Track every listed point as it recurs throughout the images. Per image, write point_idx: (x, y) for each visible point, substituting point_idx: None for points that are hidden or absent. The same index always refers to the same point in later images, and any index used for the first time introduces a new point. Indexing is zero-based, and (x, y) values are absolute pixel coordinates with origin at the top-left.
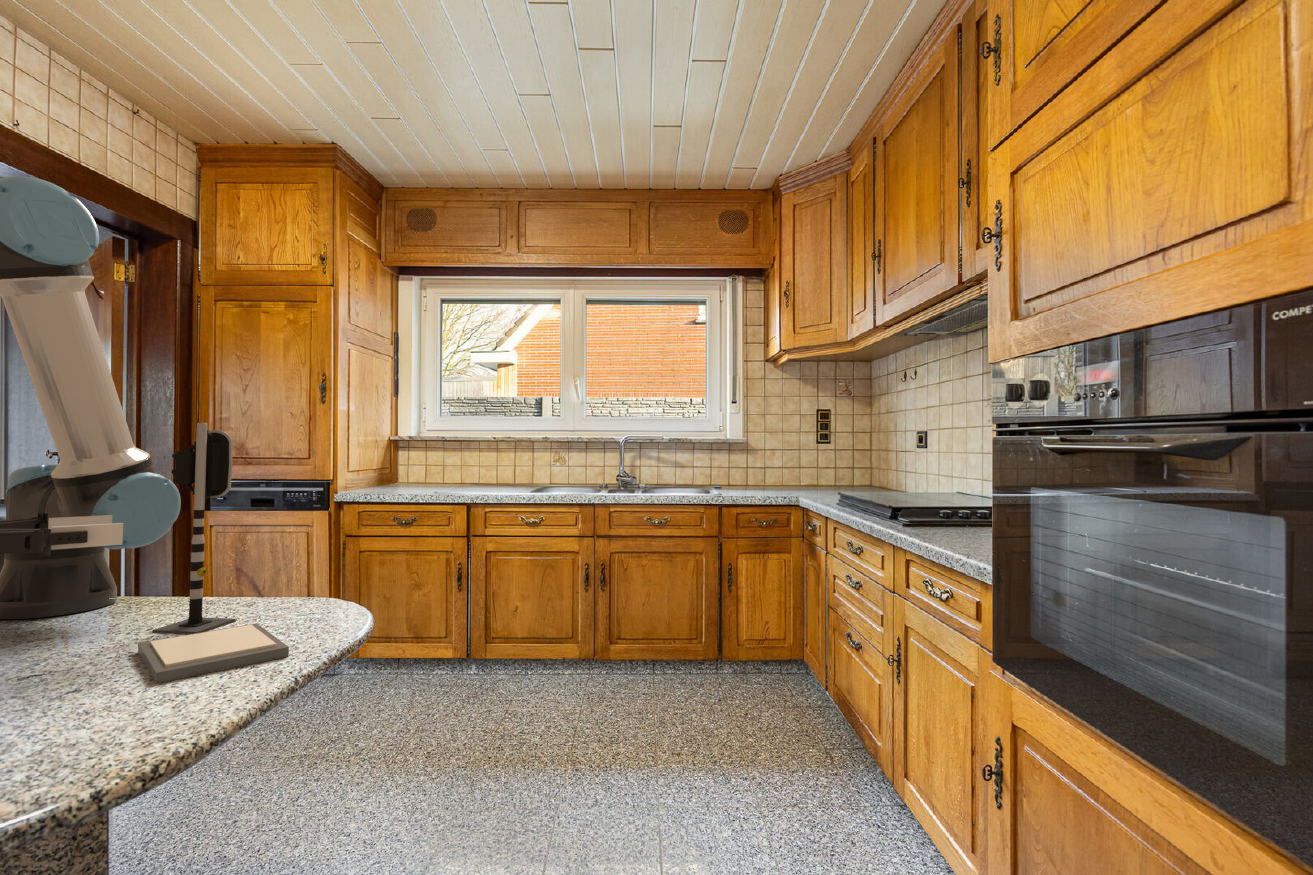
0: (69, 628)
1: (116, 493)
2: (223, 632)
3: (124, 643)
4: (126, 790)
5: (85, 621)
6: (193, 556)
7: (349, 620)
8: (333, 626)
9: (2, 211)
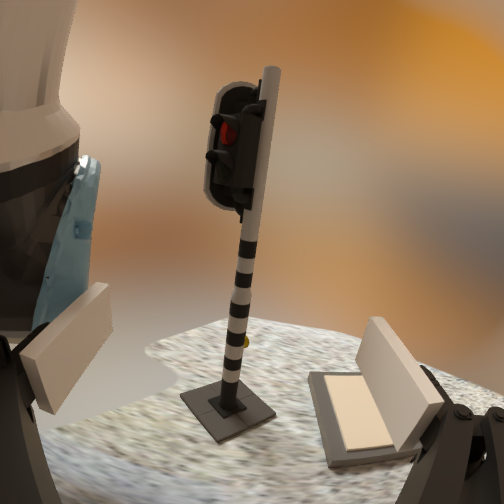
0: (74, 483)
1: (92, 217)
2: (346, 396)
3: (260, 475)
4: None
5: (48, 453)
6: (243, 324)
7: (312, 331)
8: (328, 342)
9: None
